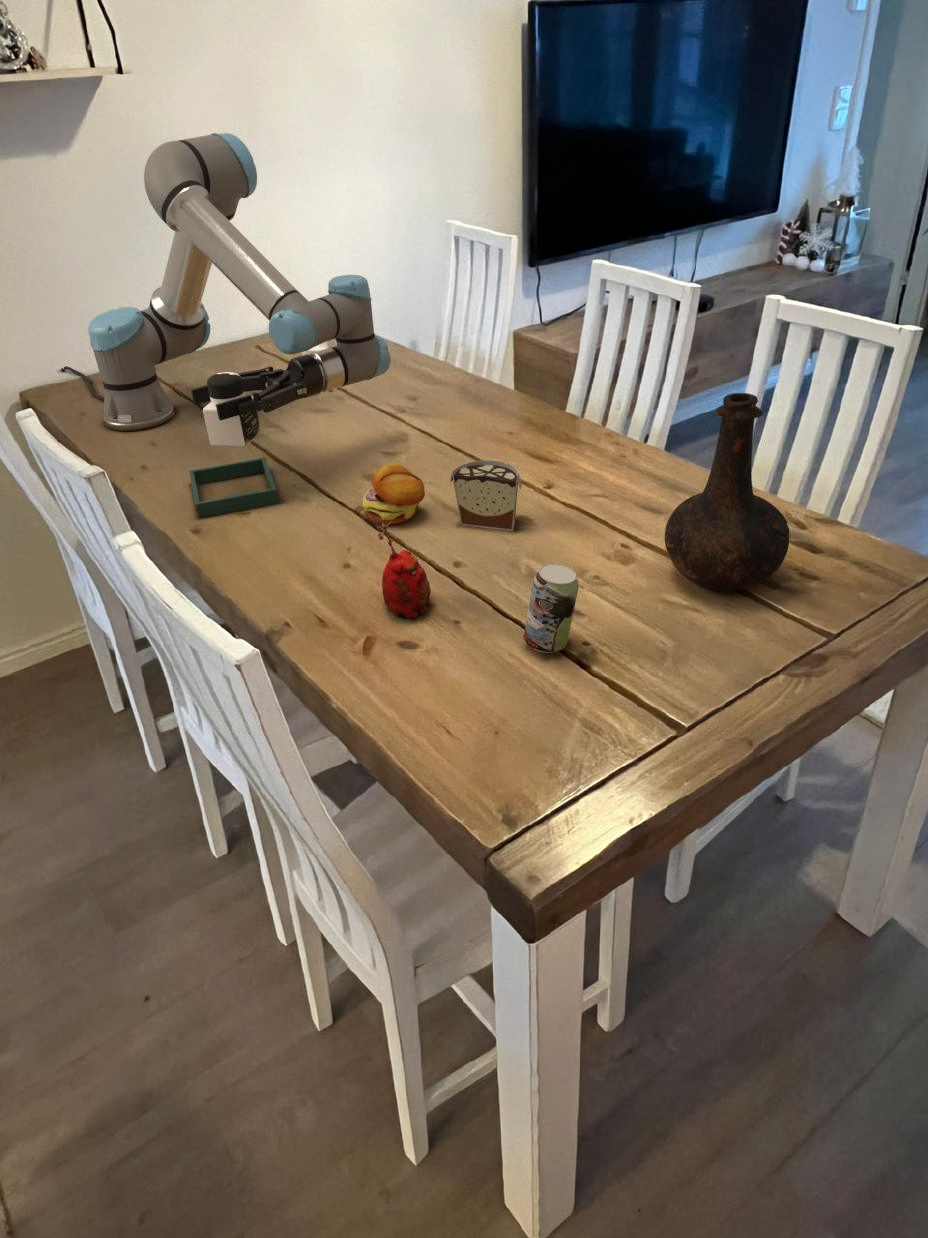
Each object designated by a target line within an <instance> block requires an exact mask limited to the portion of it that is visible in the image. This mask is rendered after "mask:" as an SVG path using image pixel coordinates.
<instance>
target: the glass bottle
mask: <svg viewBox="0 0 928 1238" xmlns="http://www.w3.org/2000/svg"><path fill="white" fill-rule="evenodd" d="M722 402H723V404H722V405H720V406H718V407H716V409H715V415H717V416H719V417H721V420H720V426H719V431H718V437H717V442H716V445H715V446H716V448H715V452H714V455H713V460H712V464H711V468H710V472H709V475H708V479H707V481H706V484H705V487H704V489H703V491H702V492H699V493H697V494H695V495H691V496H690V497H688V498H686V499H684V501H682V502H681V503H679V504H678V505H677V506H676V507H675V509H673V511H672V513H671V514H670V516H669V517H668V520H667V522H666V525H665V529H664V545H665V549H666V553H667V555H668V557H669V559H670V561H671V563H672V565H673V566H674V568H676V570H677V571H678V572H679V573H680V574H681V575H682V576H683V577H684V578H685V579H687V580H689V581H690V582H691V583H694V584H695V585H698V586H700V587H702V588H706V589H708V590H712V591H720V592H736V591H737V592H738V591H743V590H747V589H750V588H753V587H756V586H758V585H760V584H762V583H764V582H765V581H767V580H768V579H769V578H770V577H772V576H773V575H774V574H775V573H776V572H777V571H778V569H779V568H780V567H781V566H782V564H783V562H784V561H785V558H786V556H787V553H788V551H789V547H790V527H789V525H788V521H787V519H786V517H785V516H784V513H782V512H781V511H780V510H779V508H777V507H776V506H775V505H773V503H771V502H770V501H768V500H766V499H765V498H763V497H761V496H759V495H756V494H754V489H753V479H752V477H753V475H752V474H753V473H752V472H753V470H752V465H753V464H752V463H753V461H752V460H753V439H754V428H755V419H757V418H760V417H762V415H763V410H762V409H760V408H759V407H758V406H757V403H759V399H758V396H756V395H754V394H752V393H747V392H734V393H733V392H732V393H729V394H727V395H725V396H724V397H723V399H722Z"/></svg>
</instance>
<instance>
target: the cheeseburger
mask: <svg viewBox="0 0 928 1238" xmlns="http://www.w3.org/2000/svg"><path fill="white" fill-rule="evenodd" d="M371 481H372V482H371V485H372V487H371V488H369V489H368V490H367V491H366V493H364V495H363V497H362V507H363V508H364V513H365V515H366V517H367V518H369V519H370V520H371V521H374V522H376V523H377V524H381V522H380V521H378V519H380V520H381V521H382V522H383V524H384V525H388V524H389V523H390V522H392V523H391V524H390V525H395V524H396V525H397V524H400V523H403V522H407V521H408V520H410V519H411V518H413V517H414V516H415V515H416V513H417V510H418V506H419V504H420V502H422V501H423V500H424V498H425V496H426V492H425V484H424V482H423V480H422V478H420V477H419V476H417V475H415V474H414V473H413V472H411V471H410V470H409V469H408V468H406V466H404V465H401V464H398V463H397V464H395V463H389V464H386V465H385V466H383V467H381V468H380V469H378V470H377V472H375V473H374V475H373V477H372V479H371Z"/></svg>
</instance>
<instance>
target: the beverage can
mask: <svg viewBox="0 0 928 1238" xmlns="http://www.w3.org/2000/svg"><path fill="white" fill-rule="evenodd" d="M579 588H580V584H579V580H578V579H577V573H576V572H575V571H574V570H573V569H572V568H571V567H569V566H567V565H564V564H560V563H547V564H544V565H542V566H541V567H540V568H539V570H538V572H536V573H535V574H534V577H533V581H532V587H531V592H530V597H529V603H528V608H527V614H526V621H525V627H524V631H523V639H524V641H525V643H526V644H527V645H528V646H529V647H530V648H532V649H533V650H535V651H537V652H540V653H544V654H551V653H555V652H559V651H562V650H563V649H565V648H566V646H567V644H568V640H569V636H570V631H571V625H572V621H573V617H574V610H575V607H576V602H577V597H578V592H579Z"/></svg>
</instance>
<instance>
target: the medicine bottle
mask: <svg viewBox="0 0 928 1238" xmlns="http://www.w3.org/2000/svg"><path fill="white" fill-rule="evenodd" d="M206 385H207V386H208V390H209V395H210V400H211V401H209V403H208V404H207V405H206V406H204V407H203V409H202V413H203V418H204V422H205V427H206V430H207V431H206V432H207V436H208V441H209V444H210V446H211V447H234V448H247V447H248V445H250V443H252V442H253V441H254V440H255V438H257V436H258V435H260V433H262V429H261V425H260V419H259V414H258V411H256V409H255V410H254V411H251V412H248V413H245V414H241V415H238V416H235V417H231V418H228V419H224V420H219V418H218V413H217V409H216V404H219V403H223V402H226V401H230V400H233V399H237V398H240V397H244V396H246V395H245V392H244V389H243V384H242V379H241V376H240V375H238V374H236V372H231V371H224V372H218V373H215V374H213V375H211V376H209V377H208V379H207V380H206ZM251 396H252V399H254V398H253V395H251Z"/></svg>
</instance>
